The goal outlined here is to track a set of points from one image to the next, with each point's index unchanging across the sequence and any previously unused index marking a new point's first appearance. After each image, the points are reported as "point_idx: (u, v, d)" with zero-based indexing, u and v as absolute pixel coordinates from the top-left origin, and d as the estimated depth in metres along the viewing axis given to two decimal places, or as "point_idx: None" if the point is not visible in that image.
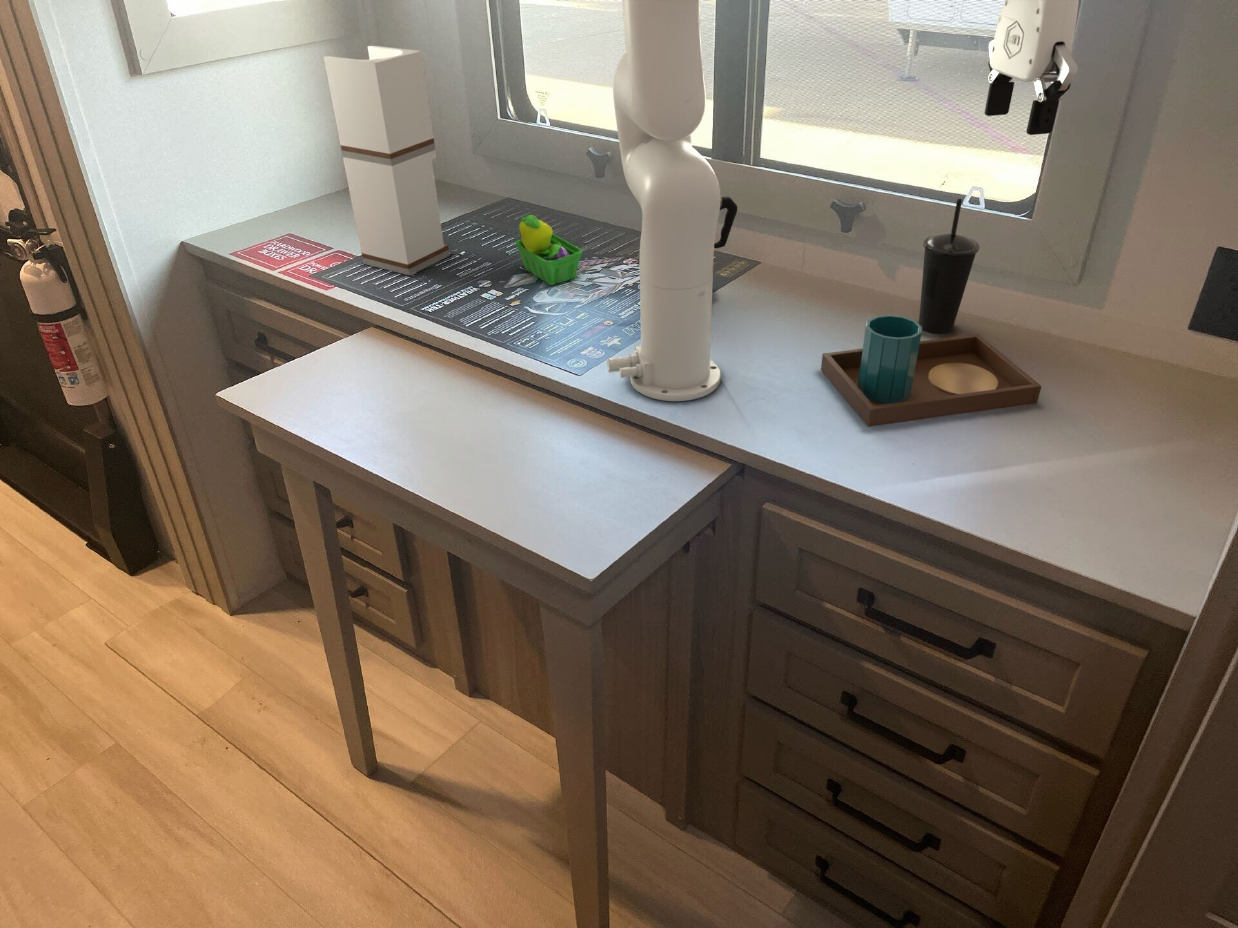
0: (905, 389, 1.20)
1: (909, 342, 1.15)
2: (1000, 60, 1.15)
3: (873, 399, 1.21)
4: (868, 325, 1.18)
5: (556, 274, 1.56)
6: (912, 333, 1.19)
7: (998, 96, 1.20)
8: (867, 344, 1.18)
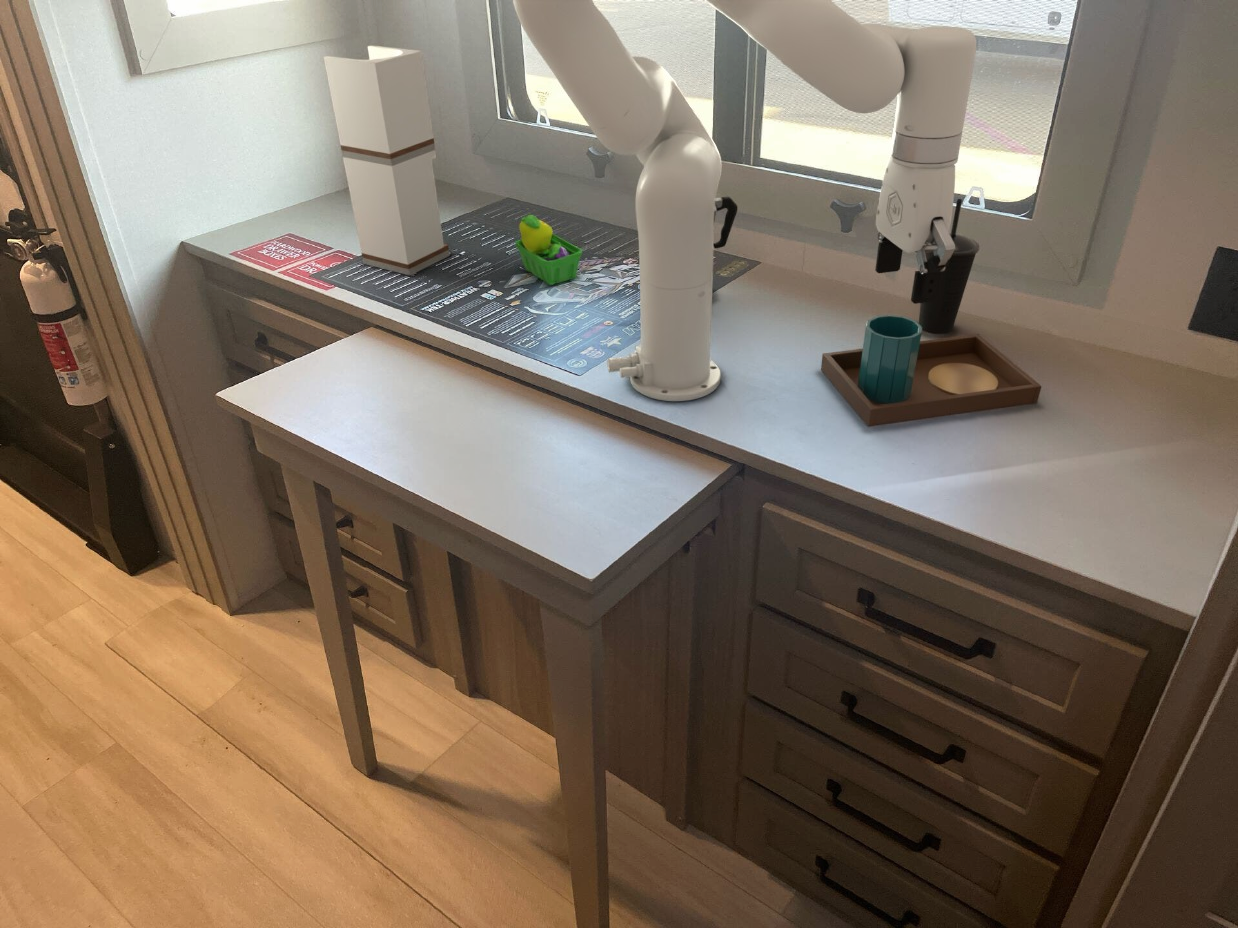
0: (905, 389, 1.20)
1: (909, 342, 1.15)
2: (884, 225, 1.12)
3: (873, 399, 1.21)
4: (868, 325, 1.18)
5: (556, 274, 1.56)
6: (912, 333, 1.19)
7: (887, 255, 1.17)
8: (867, 344, 1.18)
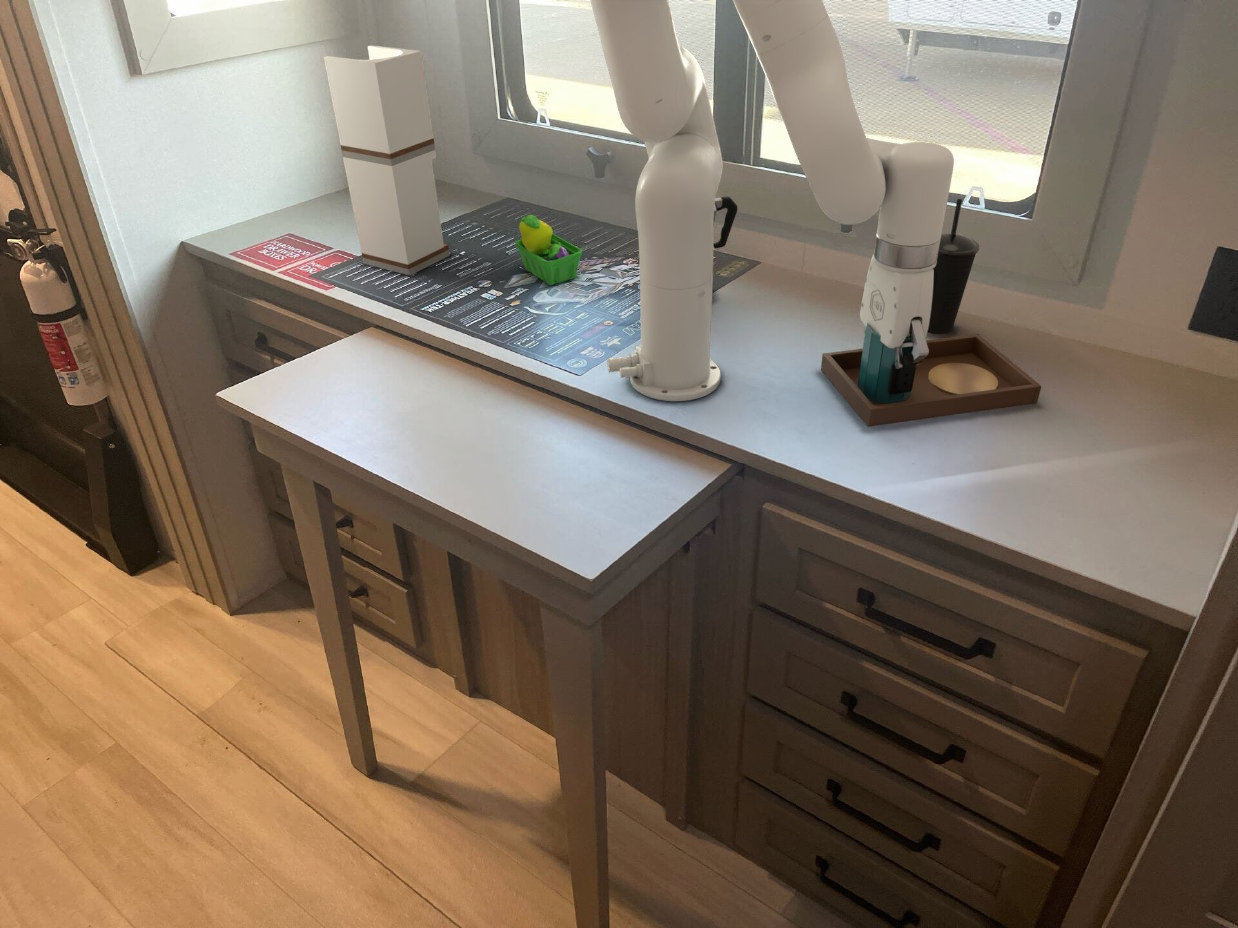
0: None
1: None
2: (867, 318, 1.18)
3: (873, 399, 1.21)
4: (868, 325, 1.18)
5: (556, 274, 1.56)
6: None
7: None
8: (867, 344, 1.18)
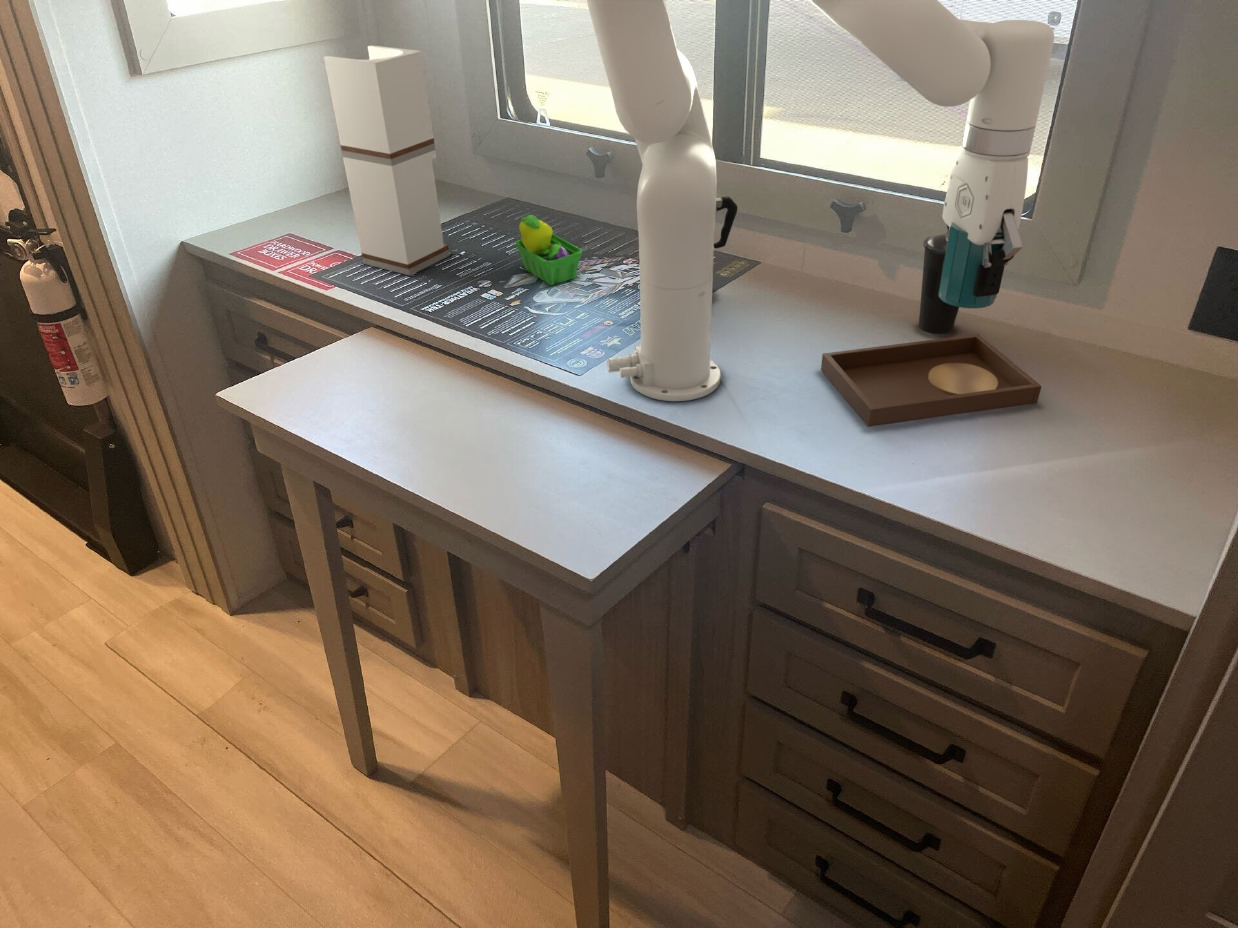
0: None
1: None
2: (952, 217, 1.13)
3: (957, 304, 1.15)
4: (953, 224, 1.13)
5: (556, 274, 1.56)
6: None
7: None
8: (952, 244, 1.13)
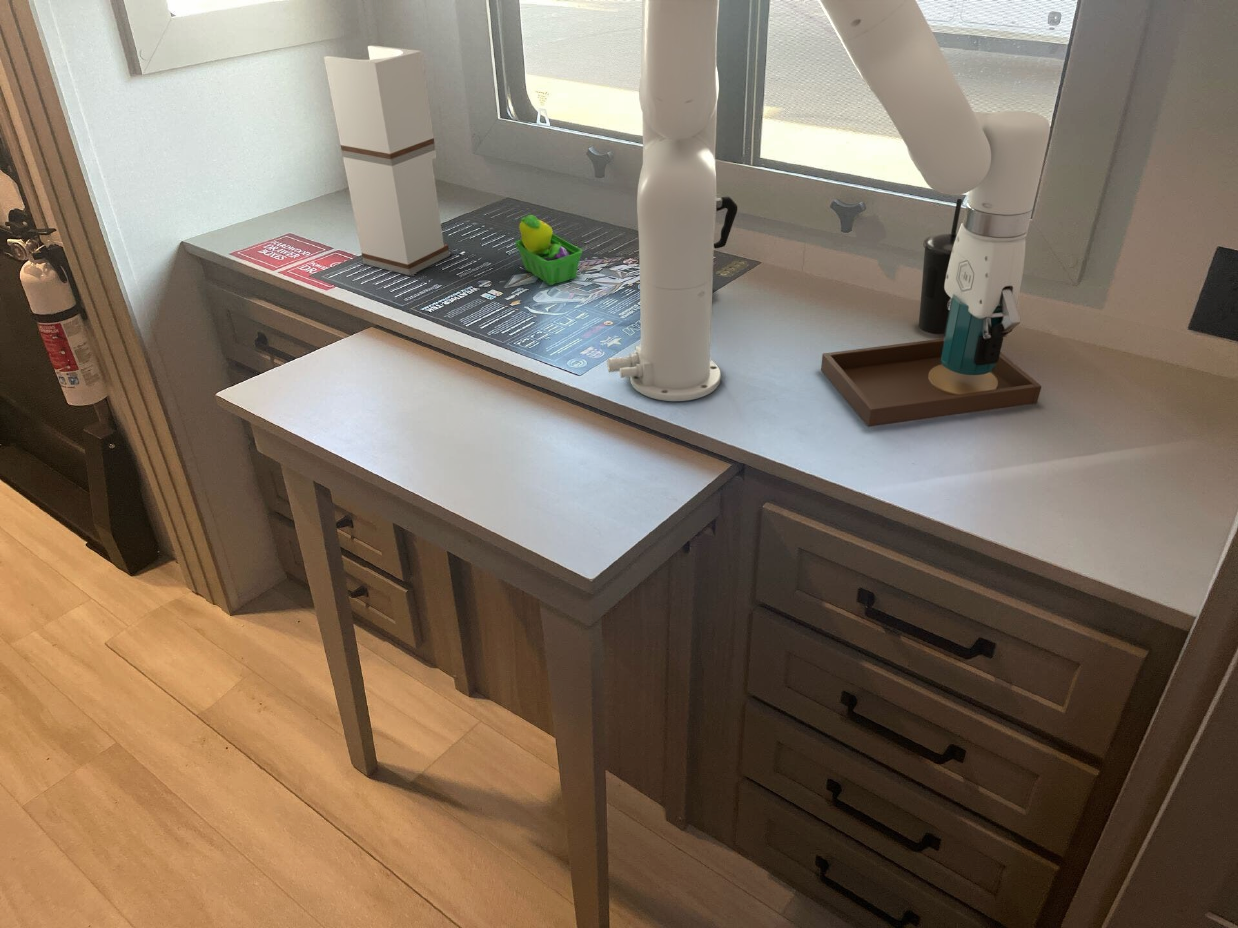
0: None
1: None
2: (953, 289, 1.19)
3: (958, 371, 1.21)
4: (955, 296, 1.18)
5: (556, 274, 1.56)
6: None
7: None
8: (954, 315, 1.18)
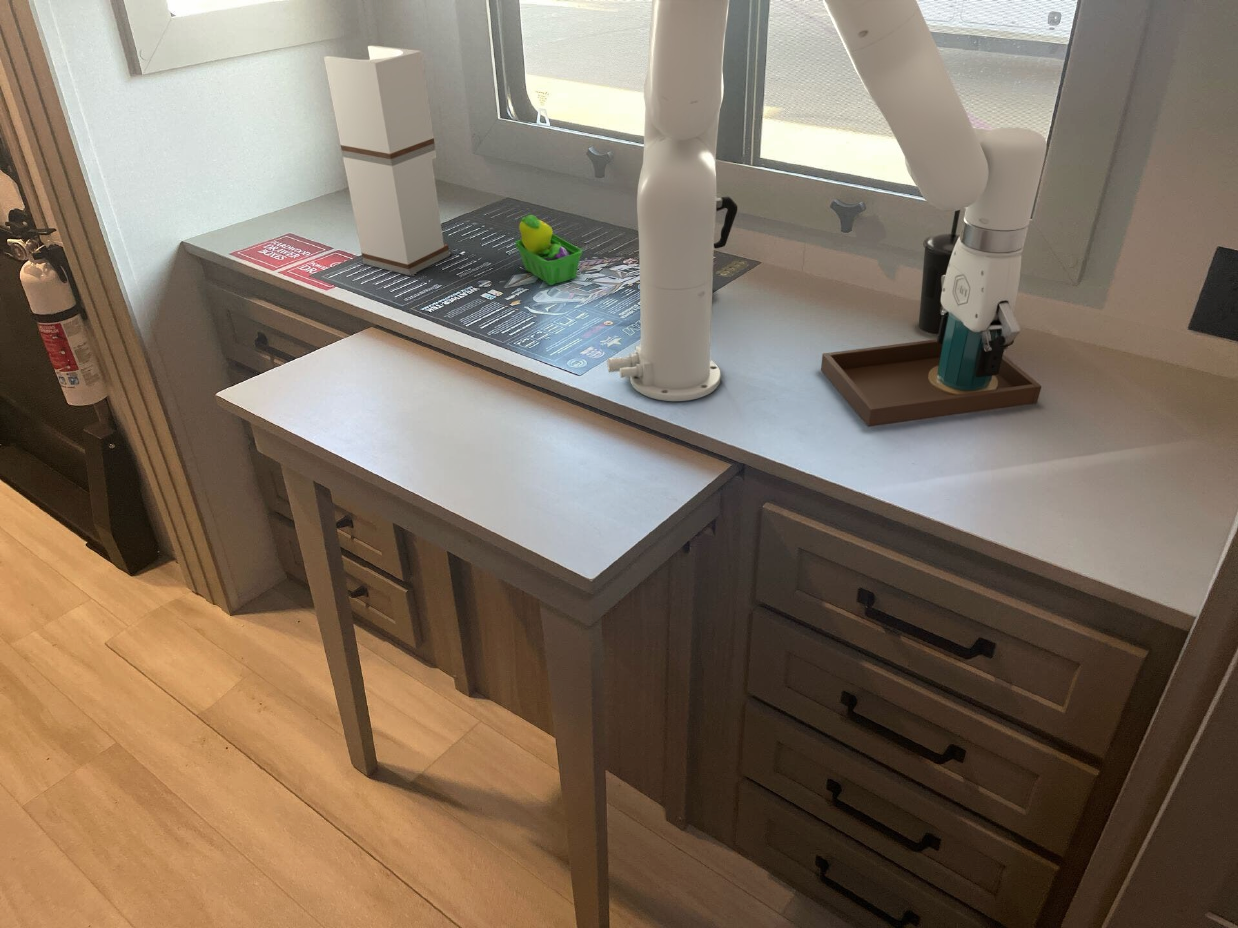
0: (987, 377, 1.21)
1: None
2: (950, 303, 1.20)
3: (954, 386, 1.22)
4: (951, 313, 1.20)
5: (556, 274, 1.56)
6: None
7: None
8: (950, 332, 1.20)
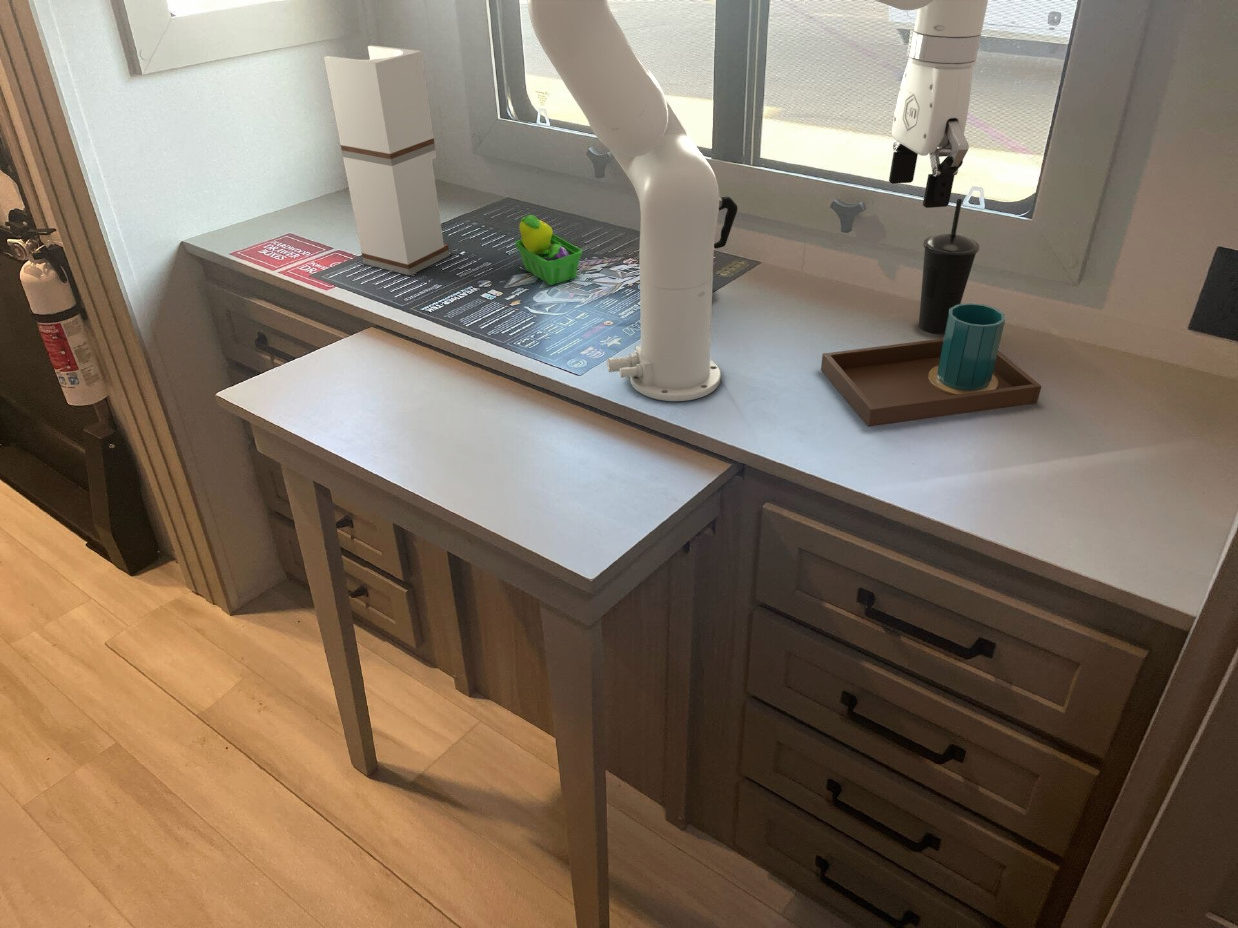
0: (987, 377, 1.21)
1: (993, 329, 1.17)
2: (900, 131, 1.14)
3: (954, 386, 1.22)
4: (951, 313, 1.20)
5: (556, 274, 1.56)
6: (993, 321, 1.21)
7: (902, 165, 1.19)
8: (950, 332, 1.20)
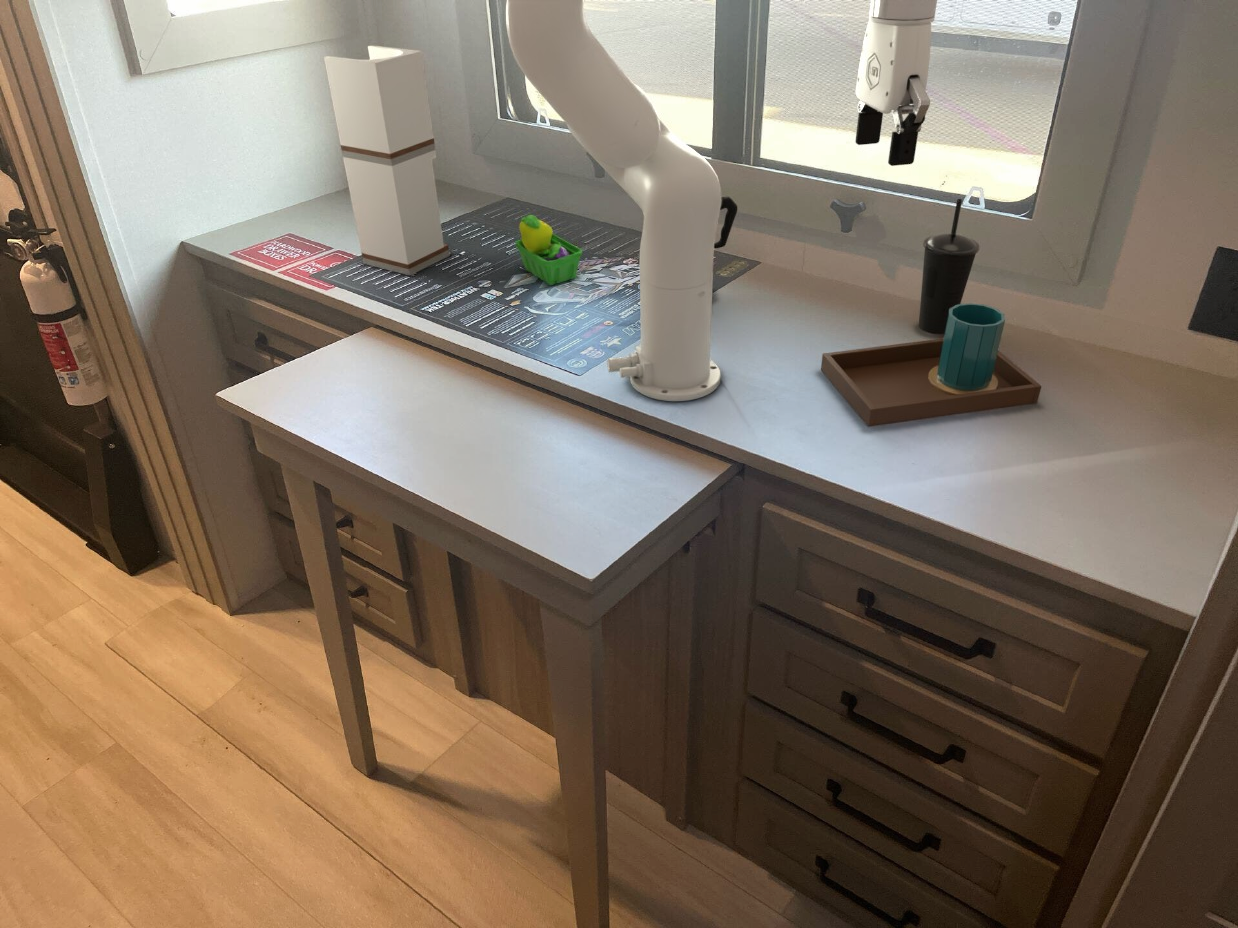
0: (987, 377, 1.21)
1: (993, 329, 1.17)
2: (863, 91, 1.15)
3: (954, 386, 1.22)
4: (951, 313, 1.20)
5: (556, 274, 1.56)
6: (993, 321, 1.21)
7: (867, 125, 1.20)
8: (950, 332, 1.20)
